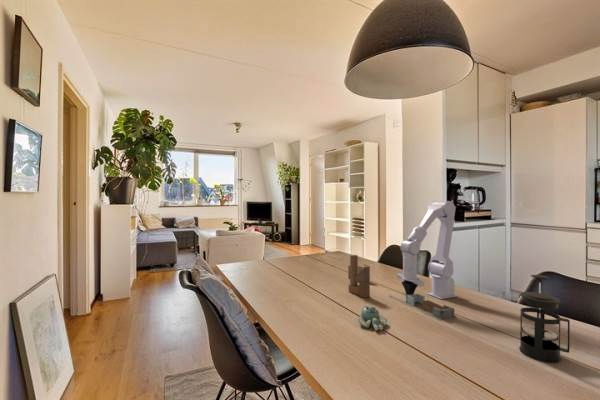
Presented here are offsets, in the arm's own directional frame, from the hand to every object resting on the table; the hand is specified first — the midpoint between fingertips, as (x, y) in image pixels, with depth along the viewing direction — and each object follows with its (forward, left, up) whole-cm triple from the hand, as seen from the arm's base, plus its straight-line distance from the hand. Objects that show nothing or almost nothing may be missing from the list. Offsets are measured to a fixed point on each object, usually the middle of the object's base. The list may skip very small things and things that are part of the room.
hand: (409, 298), depth 129 cm
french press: (-4, +49, -1) cm, 49 cm away
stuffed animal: (+30, +14, -2) cm, 33 cm away
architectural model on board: (+3, -37, -2) cm, 37 cm away
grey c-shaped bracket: (0, +18, -1) cm, 18 cm away
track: (0, +6, -1) cm, 6 cm away
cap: (0, +3, -1) cm, 3 cm away
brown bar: (-1, +13, -2) cm, 13 cm away
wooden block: (+16, -16, -2) cm, 23 cm away
